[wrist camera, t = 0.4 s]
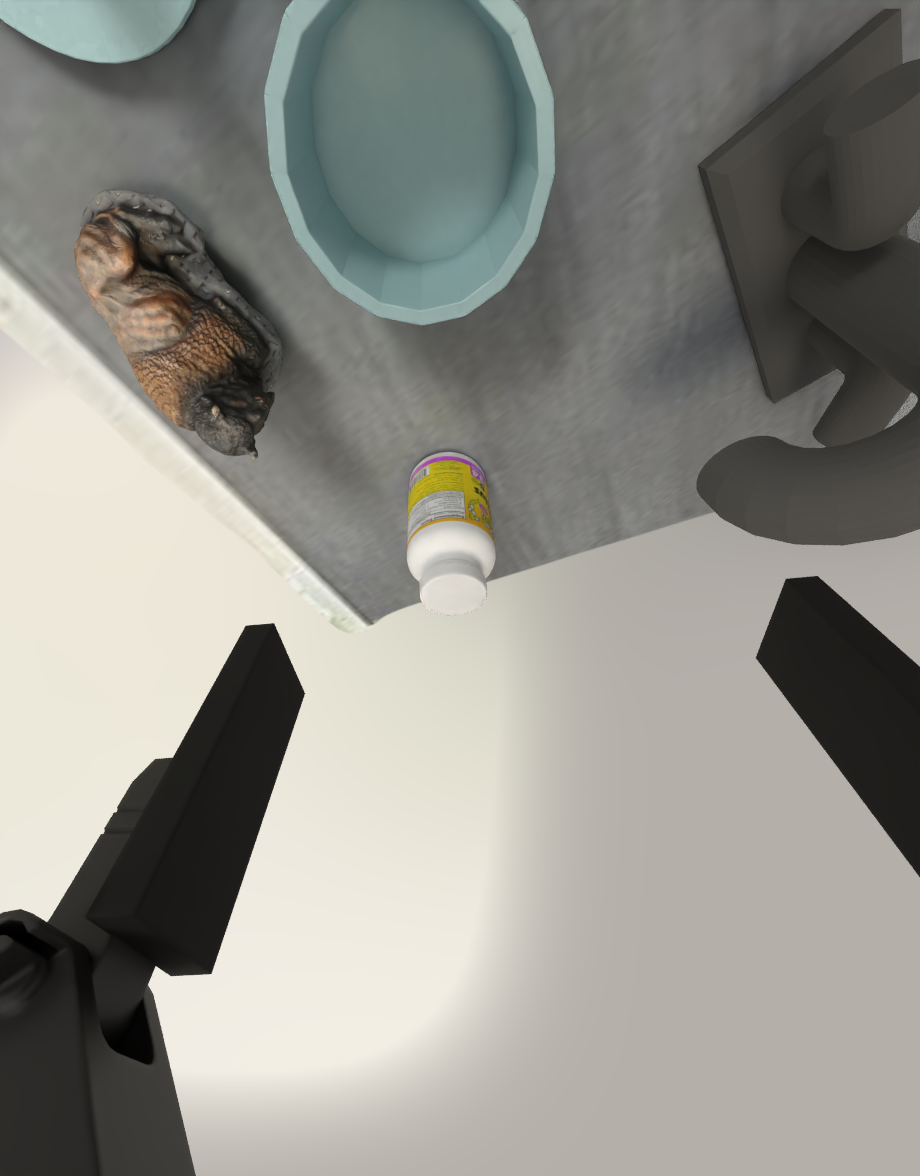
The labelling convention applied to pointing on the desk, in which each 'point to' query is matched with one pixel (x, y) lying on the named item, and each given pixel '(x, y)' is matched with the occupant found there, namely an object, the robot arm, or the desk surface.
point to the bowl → (411, 148)
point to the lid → (99, 26)
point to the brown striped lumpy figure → (179, 318)
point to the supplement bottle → (450, 533)
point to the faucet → (828, 294)
